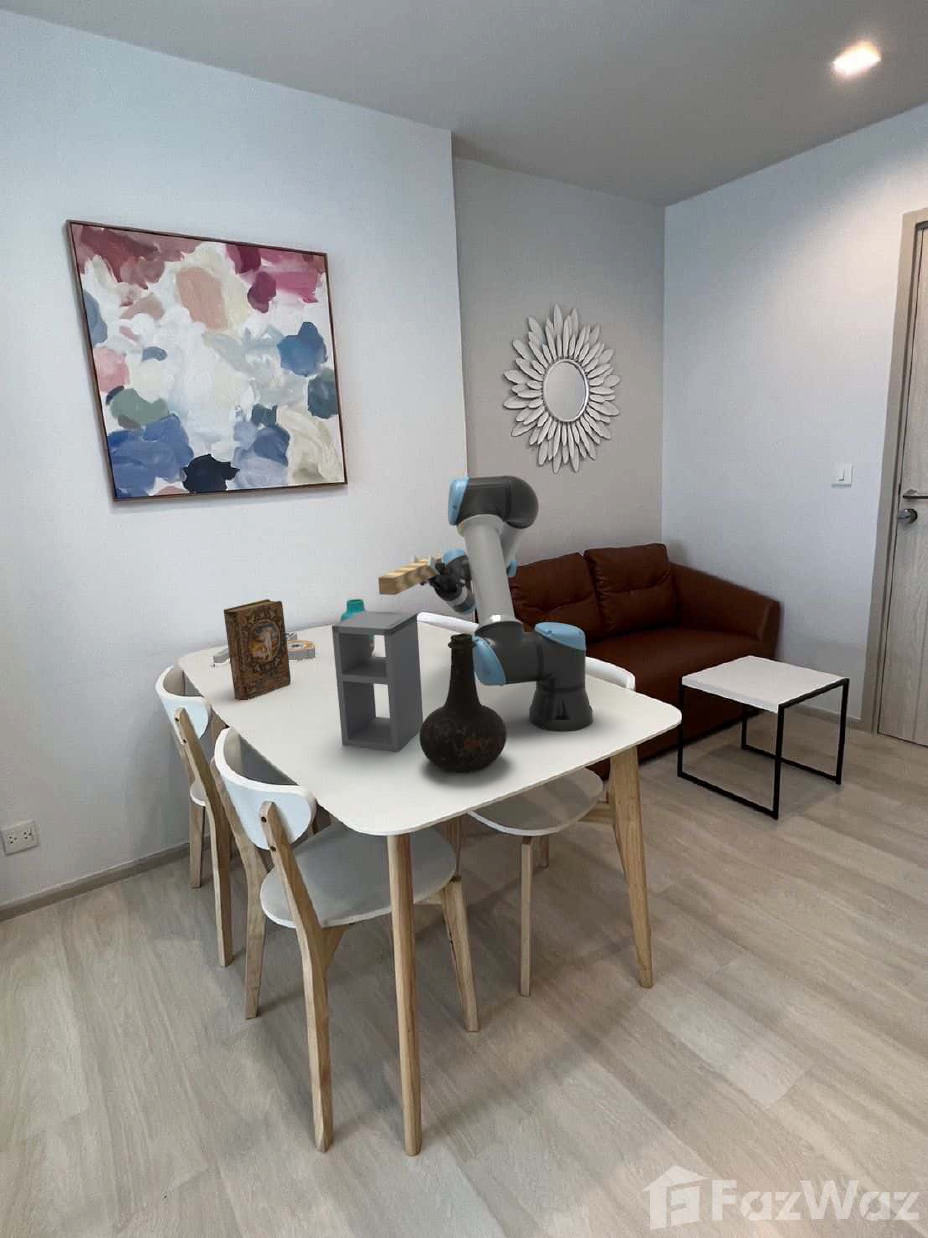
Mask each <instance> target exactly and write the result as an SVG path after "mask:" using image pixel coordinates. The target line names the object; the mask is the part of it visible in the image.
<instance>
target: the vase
mask: <svg viewBox="0 0 928 1238" xmlns="http://www.w3.org/2000/svg"><path fill="white" fill-rule="evenodd" d="M362 611H367V609H366V608H365V603H364V599H362V598H352V599H351V598H350V599H347V600H346V611H345V612H343V613H342V614H341V616H340V622H341V621H343V620H345V619H347V618H349V617H351V616H353V615H355V614H357V613H359V612H362ZM375 636H376V635H370V642H371V655H372V654H373V652H374V650H375V639H376V638H375Z"/></svg>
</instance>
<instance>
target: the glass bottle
mask: <svg viewBox="0 0 928 1238" xmlns="http://www.w3.org/2000/svg"><path fill="white" fill-rule="evenodd" d="M473 637H474V636H473V635H472V634H471V633H465V632H464V633H463V632H462V633H459V634H452V635H450V641H449V642H448V643H447V647H448V648H449V649H450V650H451V651H450V672H449V673H450V674H449V675H450V676H449V686H448V691H447V695H446V700H445V702H444V704H443V706H441V707H438V708H436V709H435V710H434V711H432V712H431V713H429V714H428V715H427V716H426V717H425V719H424V720H423V724H422V727H421V730H420V731H419V743H420V748H421V751H422V752H423V754H424V755H425V757H426V759H427V760H428V761H429V762H430V763H432V764H433V765H434V766H435V767H437V768H439V769H441V770H443V771H446V772H451V773H457V774H459V773H460V774H470V773H477V772H479V771H482V770H484V769H486V768H488V767H489V766H491V765H492V764H493V763H494V762H495V761H496V760H497V759H498V757H500V755H501V753H502V752H503V750H504V748H505V746H506V742H507V735H508V734H507V733H508V732H507V726H506V724H505V722H504V721H503V719H502V717H501V716H500V715H499V714H498V713H497V712H496V711H495V710H494V709H492V708H491V707H488V706H486V705H484V704H482V703H481V701H480V698H479V694H478V689H477V685H476V684H477V683H476V674H475V671H474V661H473V648H474V647H476V646H477V644H476V643H475V642H473V641H472V638H473Z"/></svg>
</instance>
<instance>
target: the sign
mask: <svg viewBox="0 0 928 1238" xmlns="http://www.w3.org/2000/svg"><path fill="white" fill-rule="evenodd" d="M285 632H286V641H287V650H288V658H289V660H303V659H308V658H309V659H312V658H315V659H316V656H315V654H316V646H315V645H316V644H315V643H314V641H312V640H308V639H305V640H304V639H298V632H287V631H285ZM316 655H317V654H316ZM212 657H213V658H212V659H213V664H214V663H223V662H225V661H226V660H227V659H229V658H230V656H229V648H228V647H226V648H224V649H222V650H221V651H218V652H216V653H215V654H213V655H212ZM309 659H308V660H309ZM312 660H313V659H312Z"/></svg>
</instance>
